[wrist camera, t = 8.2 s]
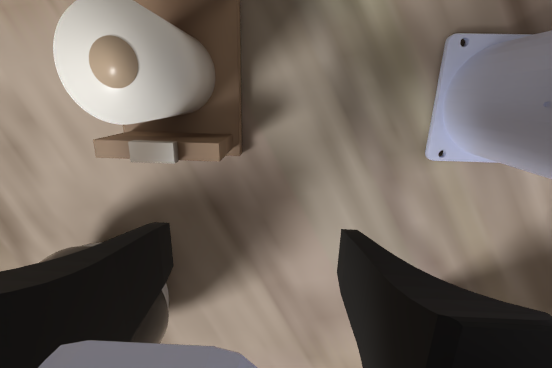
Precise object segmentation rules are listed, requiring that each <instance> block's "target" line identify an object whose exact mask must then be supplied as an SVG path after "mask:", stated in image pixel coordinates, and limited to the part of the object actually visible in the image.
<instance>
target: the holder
mask: <svg viewBox="0 0 552 368" xmlns="http://www.w3.org/2000/svg"><path fill="white" fill-rule="evenodd" d="M133 1H135V2H137V3H138V4H140V5H142V6H143V7H145V8H146V9H148V10H150V11H151V12H153V13H155V14H156V15H158V16H159V17H161V18H163V19H164V20H166V21H167V22H169V23H171V24H172V25H174V26H176V27H177V28H179V29H180V30H182V31H184V32H185V33H187V34H189V35H190V36H192V37H193V38H195V39H196V40H198V41H199V42H200V43H201V44H202V45H203V46H204V47H205V49H206V50H207V51H208V53H209V55H210V56H211V59H212V61H213V64H214V69H215V85H214V89H213V92H212V95H211V97H210V98H209V100H208V101H207V102H206V104H205V105H204V106H202V107H201V108H200V109H198V110H197V111H194V112H192V113H188V114H183V115H178V116H173V117H167V118H162V119H157V120H151V121H146V122H140V123H135V124H127V125H123V130H124V133H121V134H116V135H112V136H108V137H103V138H99V139H95V140H93V143H94V149H95V155H96V158H125V159H130V160H131V162H144V163H176V162H178V161H179V160H190V161H220V160H221V159H222V158H223V157H224V156H240V155H241V154H242V120H241V38H240V0H133Z"/></svg>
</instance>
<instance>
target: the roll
mask: <svg viewBox="0 0 552 368" xmlns="http://www.w3.org/2000/svg"><path fill="white" fill-rule="evenodd" d="M53 52H54V61H55V65H56V69H57V72H58V75H59V77H60V80H61V82H62V84H63V86H64V87H65V89H66V91H67V92H68V93H69V95H70V96H71V98H72V99H73V100H74V101H75V102H76V103H77V104H78V105H79V106H80V107H81V108H82V109H84V110H85V111H86V112H88V113H89V114H91V115H92V116H94V117H96V118H98V119H100V120H103V121H105V122H109V123H113V124H122V125H127V124H135V123H140V122H146V121H151V120H157V119H162V118H167V117H173V116H178V115H183V114H188V113H192V112H194V111H197V110H198V109H200V108H201V107H202V106H204V105H205V104H206V102H207V101H208V100H209V98H210V97H211V95H212V92H213V89H214V85H215V69H214V64H213V61H212V59H211V56H210V55H209V53H208V51H207V50H206V49H205V47H204V46H203V45H202V44H201V43H200V42H199V41H198V40H196V39H195V38H193V37H192V36H190V35H189V34H187V33H185V32H184V31H182V30H180V29H179V28H177V27H176V26H174V25H172V24H171V23H169V22H167V21H166V20H164V19H163V18H161V17H159V16H158V15H156V14H155V13H153V12H151V11H150V10H148V9H146V8H145V7H143V6H142V5H140V4H138V3H137V2H135V1H133V0H77V1H75V2H74V3H73V4H71V5H70V6H69V7H68V8H67V9H66V11H65V12H64V13H63V15H62V16H61V18H60V20H59V22H58V24H57V27H56V31H55V35H54V43H53Z"/></svg>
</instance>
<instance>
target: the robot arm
mask: <svg viewBox="0 0 552 368" xmlns="http://www.w3.org/2000/svg"><path fill="white" fill-rule="evenodd" d="M461 39H464V40H465V45H464V46H463V47H462V46H461V45H460V41H461ZM441 150H443V154H442V155H441V156H439V155H438V153H439V152H440V151H441ZM425 155H426V157H427V158H428V159H430V160H433V161H464V162H497V163H502V164H505V165H508V166H511V167H515V168H518V169H521V170H524V171H527V172H530V173H534V174H537V175H540V176H543V177H546V178H549V179H552V30H550V31H546V32H542V33H538V34H534V35H531V34H476V33H456V34H452V35H451V36H449V37H448V38H447V39H446V42H445V47H444V52H443V58H442V63H441V69H440V74H439V80H438V85H437V91H436V96H435V102H434V107H433V113H432V118H431V124H430V129H429V135H428V140H427V146H426V151H425ZM172 267H173V257H172V246H171V236H170V226H169V223H158V222H155V223H151V224H147V225H145V226H142V227H139V228H137V229H134V230H132V231H130V232H127V233H125V234H122V235H120V236H118V237H115V238H113V239H110V240H108V241H105V242H102V243H100V244H97V245H95V246H92V247H89V248H87V249H84V250H81V251H78V252H75V253H72V254H69V255H66V256H62V257H59V258H56V259H52V260H49V261H45V262H41V263H37V264H32V265H28V266H24V267H20V268H16V269H11V270H6V271H1V272H0V368H257V367H256V366H255V365H254V364H252V363H251V362H250V361H249V360H247V359H246V358H245V357H244V356H243V355H241V354H240V353H238V352H234V351H230V350H226V349H222V348H218V347H215V346H199V345H178V344H158V343H137V342H130V340H131V338H132V336H133V335H134V333H135V331H136V330H137V328H138V327H139V325H140V323H141V322H142V320H143V319H144V317H145V316H146V314H147V313H148V311H149V309H150V308H151V306H152V305H153V303H154V302H155V300H156V298H157V297H158V295H159V294H160V292H161V290H162V289H163V287H164V285H165V283H166V281H167V279H168V277H169V275H170V272H171V270H172ZM337 275H338V281H339V286H340V292H341V296H342V299H343V302H344V305H345V308H346V311H347V314H348V317H349V321H350V324H351V327H352V330H353V333H354V336H355V339H356V342H357V345H358V349H359V353H360V357H361V361H362V366H363V368H552V316H551V315H549V314H548V313H545V312H541V311H537V310H533V309H529V308H525V307H522V306H518V305H514V304H510V303H506V302H502V301H499V300H496V299H493V298H489V297H486V296H483V295H480V294H477V293H474V292H471V291H468V290H466V289H463V288H460V287H458V286H455V285H453V284H450V283H448V282H445V281H443V280H441V279H438V278H436V277H434V276H432V275H430V274H428V273H426V272H424V271H422V270H420V269H418V268H416V267H414V266H412V265H410V264H408V263H407V262H405V261H403V260H402V259H400V258H398V257H397V256H395V255H393V254H392V253H390V252H389V251H387V250H386V249H384V248H383V247H381V246H380V245H378V244H377V243H376V242H374V241H373V240H371V239H370V238H368V237H367V236H366V235H364V234H363V233H361V232H359V231H358V230H347V229H341V238H340V248H339V258H338V268H337Z"/></svg>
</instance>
